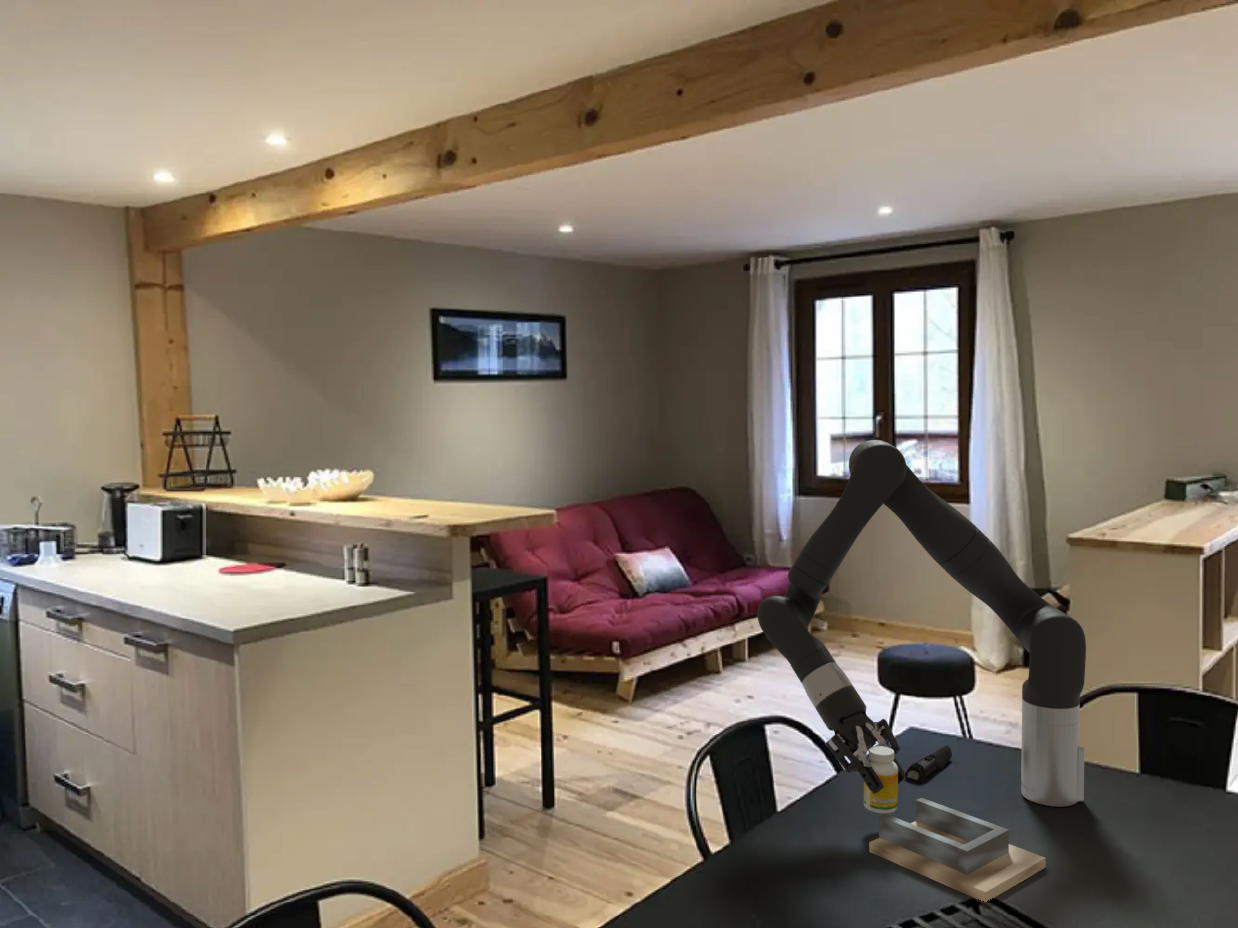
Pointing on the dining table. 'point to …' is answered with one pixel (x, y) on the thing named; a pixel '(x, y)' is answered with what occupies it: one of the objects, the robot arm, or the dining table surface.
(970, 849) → the tray
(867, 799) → the supplement bottle
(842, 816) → the dining table surface
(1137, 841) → the dining table surface
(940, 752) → the electric trimmer
